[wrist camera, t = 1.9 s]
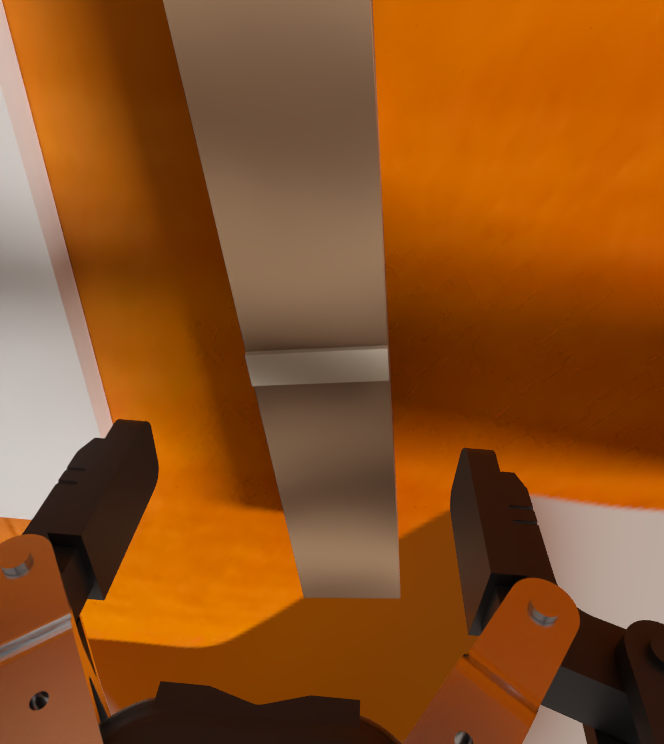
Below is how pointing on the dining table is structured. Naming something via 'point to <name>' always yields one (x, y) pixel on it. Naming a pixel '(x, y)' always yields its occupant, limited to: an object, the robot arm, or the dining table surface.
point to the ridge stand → (37, 318)
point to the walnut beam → (304, 262)
